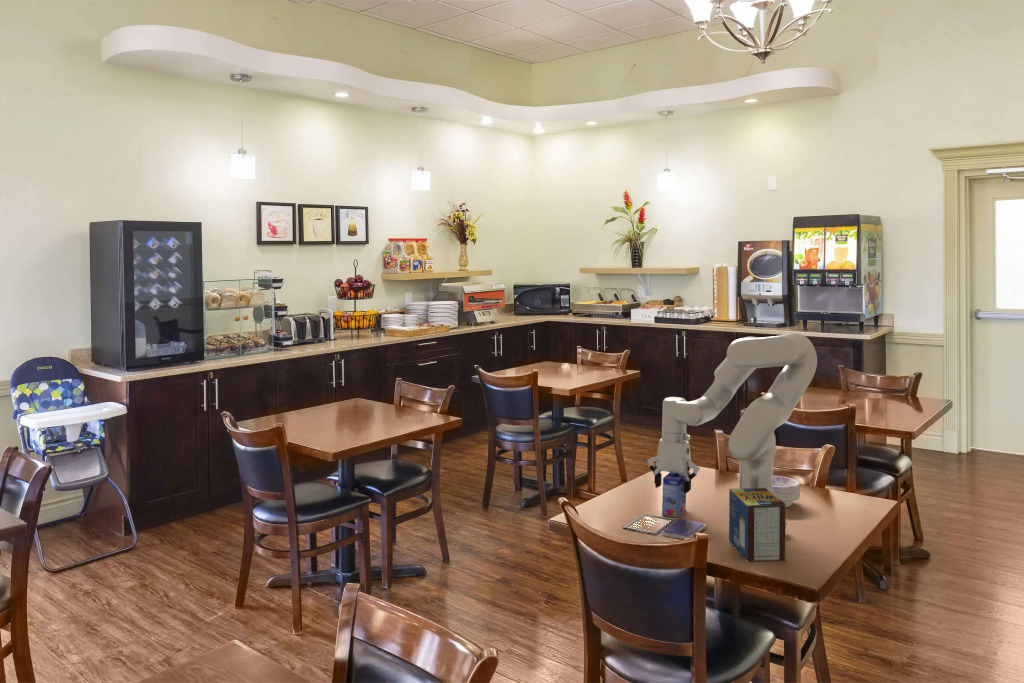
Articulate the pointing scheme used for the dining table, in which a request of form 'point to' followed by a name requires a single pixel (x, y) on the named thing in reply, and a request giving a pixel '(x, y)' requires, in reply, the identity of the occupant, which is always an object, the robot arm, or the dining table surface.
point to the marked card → (650, 522)
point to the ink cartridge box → (673, 495)
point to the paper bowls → (786, 489)
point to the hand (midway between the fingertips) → (672, 489)
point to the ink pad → (683, 529)
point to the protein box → (757, 524)
